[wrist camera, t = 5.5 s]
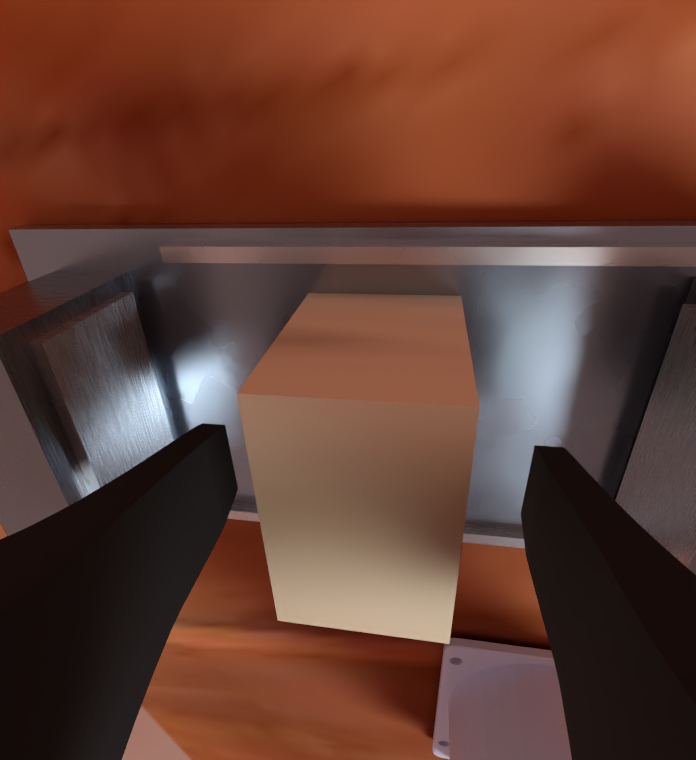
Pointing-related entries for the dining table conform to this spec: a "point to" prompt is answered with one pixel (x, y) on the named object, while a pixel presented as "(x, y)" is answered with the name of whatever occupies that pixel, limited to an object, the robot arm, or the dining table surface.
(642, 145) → the dining table surface
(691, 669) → the robot arm
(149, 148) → the dining table surface
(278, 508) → the block
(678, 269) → the vise
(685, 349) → the jaw
